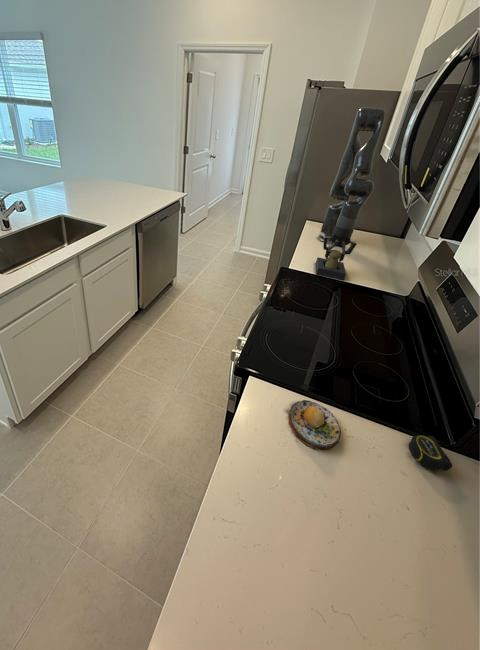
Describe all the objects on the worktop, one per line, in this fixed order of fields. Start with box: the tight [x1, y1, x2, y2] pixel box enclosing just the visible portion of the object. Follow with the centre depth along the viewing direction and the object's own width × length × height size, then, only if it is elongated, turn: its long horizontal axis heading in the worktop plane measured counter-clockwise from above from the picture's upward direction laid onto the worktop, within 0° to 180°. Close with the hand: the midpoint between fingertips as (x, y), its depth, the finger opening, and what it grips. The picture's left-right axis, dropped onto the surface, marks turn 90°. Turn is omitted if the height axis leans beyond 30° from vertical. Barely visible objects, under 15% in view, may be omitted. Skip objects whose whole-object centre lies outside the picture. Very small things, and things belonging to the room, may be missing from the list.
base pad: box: [315, 257, 347, 281], centre depth 145 cm, size 12×12×4 cm
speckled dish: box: [287, 399, 342, 451], centre depth 72 cm, size 12×12×8 cm
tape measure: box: [408, 434, 453, 471], centre depth 69 cm, size 7×7×4 cm
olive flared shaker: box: [324, 249, 342, 269], centre depth 143 cm, size 6×6×11 cm
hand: (333, 259), depth 143 cm, fingers closed on olive flared shaker, 5 cm apart
